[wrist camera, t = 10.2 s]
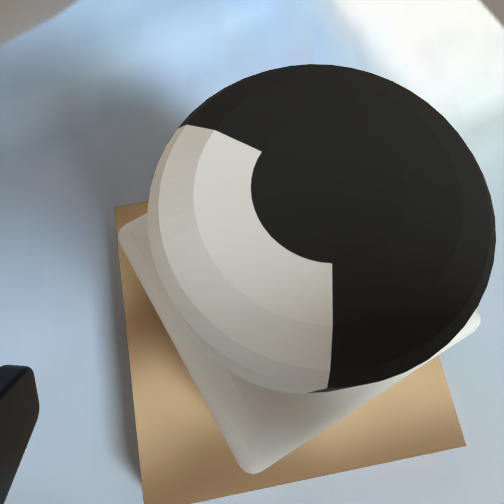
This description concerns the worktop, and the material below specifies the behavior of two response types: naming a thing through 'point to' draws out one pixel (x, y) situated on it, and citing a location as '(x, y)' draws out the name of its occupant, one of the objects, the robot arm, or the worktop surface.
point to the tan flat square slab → (213, 442)
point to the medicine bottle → (311, 249)
